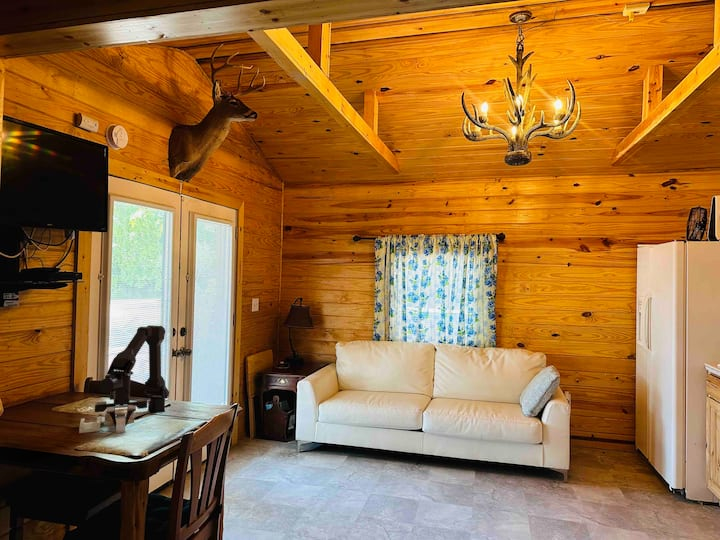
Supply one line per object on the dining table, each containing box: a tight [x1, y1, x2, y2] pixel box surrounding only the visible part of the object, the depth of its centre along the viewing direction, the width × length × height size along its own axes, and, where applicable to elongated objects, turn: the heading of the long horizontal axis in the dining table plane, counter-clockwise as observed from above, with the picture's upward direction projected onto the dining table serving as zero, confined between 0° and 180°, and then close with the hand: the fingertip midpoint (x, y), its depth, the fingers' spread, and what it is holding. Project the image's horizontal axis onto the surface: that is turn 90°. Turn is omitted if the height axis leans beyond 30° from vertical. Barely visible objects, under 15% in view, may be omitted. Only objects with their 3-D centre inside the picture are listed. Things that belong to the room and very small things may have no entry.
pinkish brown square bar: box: [115, 414, 126, 434], centre depth 195 cm, size 18×3×3 cm, turn 27°
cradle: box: [78, 416, 102, 434], centre depth 191 cm, size 7×10×3 cm
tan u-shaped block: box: [103, 407, 135, 426], centre depth 200 cm, size 11×6×5 cm, turn 117°
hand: (120, 426), depth 191 cm, fingers closed on pinkish brown square bar, 3 cm apart
